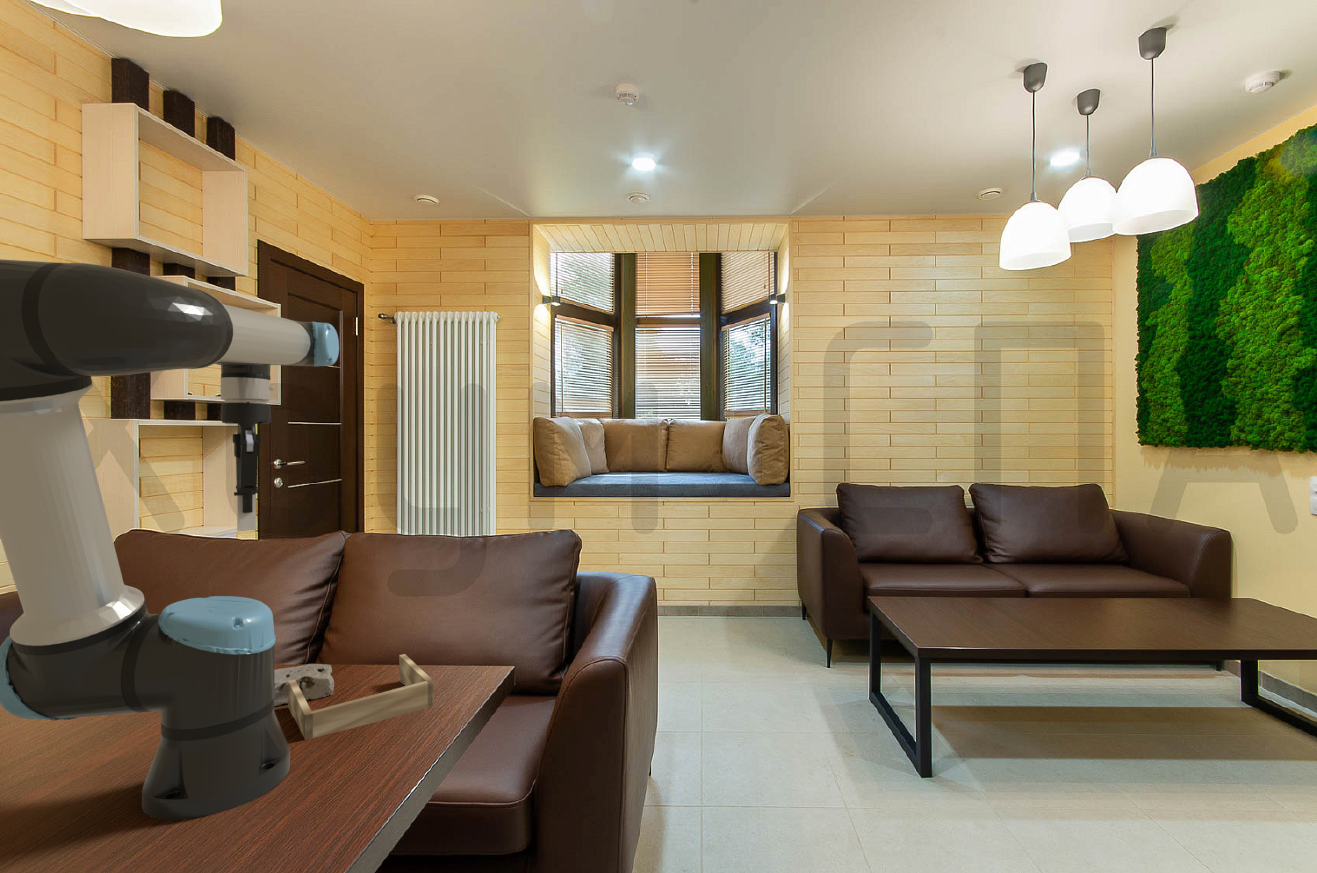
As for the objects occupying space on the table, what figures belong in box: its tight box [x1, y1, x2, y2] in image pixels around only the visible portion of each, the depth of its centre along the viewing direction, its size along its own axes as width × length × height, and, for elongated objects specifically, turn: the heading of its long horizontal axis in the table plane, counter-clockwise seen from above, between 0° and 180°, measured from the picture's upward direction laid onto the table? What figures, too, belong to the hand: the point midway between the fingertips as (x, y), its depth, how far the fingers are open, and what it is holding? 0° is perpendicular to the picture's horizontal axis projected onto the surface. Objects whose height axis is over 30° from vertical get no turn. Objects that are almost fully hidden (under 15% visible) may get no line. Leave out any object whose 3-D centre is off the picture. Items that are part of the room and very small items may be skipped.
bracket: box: [287, 653, 435, 741], centre depth 99 cm, size 16×19×5 cm
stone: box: [274, 663, 335, 708], centre depth 104 cm, size 13×6×10 cm
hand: (246, 529), depth 108 cm, fingers closed
